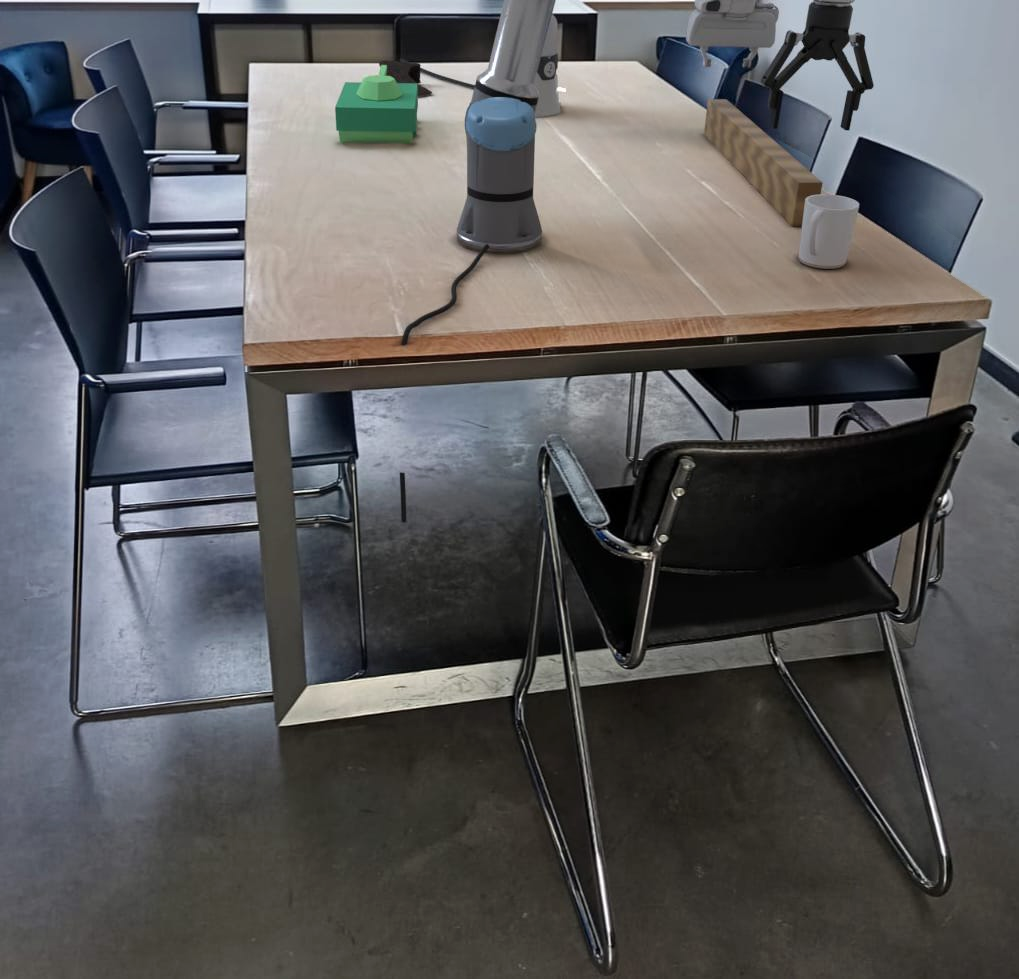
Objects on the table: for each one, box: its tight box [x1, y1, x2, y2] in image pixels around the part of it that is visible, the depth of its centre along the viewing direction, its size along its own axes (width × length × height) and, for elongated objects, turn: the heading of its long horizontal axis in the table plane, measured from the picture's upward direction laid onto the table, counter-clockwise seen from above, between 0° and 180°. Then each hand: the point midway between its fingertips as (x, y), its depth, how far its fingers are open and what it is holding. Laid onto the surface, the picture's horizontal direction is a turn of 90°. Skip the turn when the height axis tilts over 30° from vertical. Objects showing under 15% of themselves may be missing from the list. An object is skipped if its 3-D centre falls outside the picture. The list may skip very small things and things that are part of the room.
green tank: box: [334, 65, 419, 144], centre depth 261 cm, size 18×12×35 cm
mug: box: [798, 193, 860, 270], centre depth 186 cm, size 11×9×10 cm
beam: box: [703, 98, 823, 227], centre depth 234 cm, size 70×4×8 cm, turn 5°
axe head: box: [378, 59, 433, 98], centre depth 299 cm, size 18×8×15 cm
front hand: (809, 128), depth 201 cm, fingers open, 13 cm apart
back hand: (726, 66), depth 253 cm, fingers open, 8 cm apart
